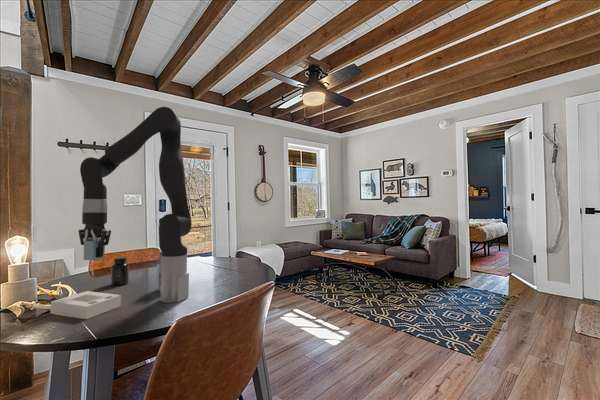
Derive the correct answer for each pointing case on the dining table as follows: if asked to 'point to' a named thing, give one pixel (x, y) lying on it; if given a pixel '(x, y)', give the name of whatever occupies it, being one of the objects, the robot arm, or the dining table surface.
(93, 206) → the robot arm
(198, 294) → the dining table surface
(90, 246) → the plug block
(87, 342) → the dining table surface
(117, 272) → the supplement bottle
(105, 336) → the dining table surface
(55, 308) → the socket plate
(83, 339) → the dining table surface
